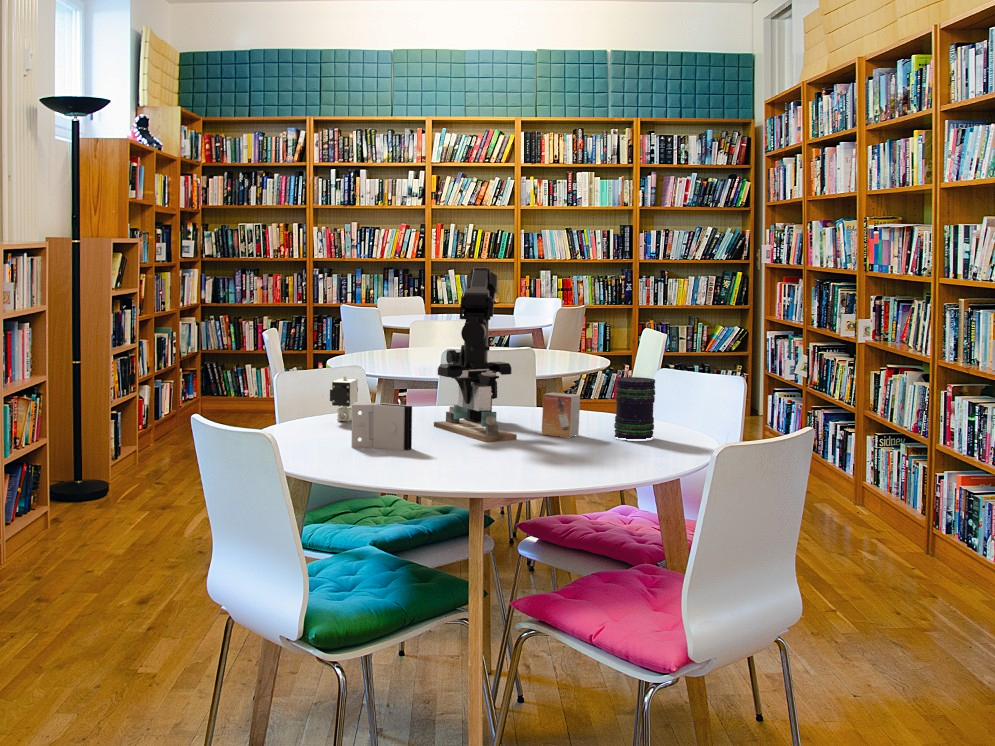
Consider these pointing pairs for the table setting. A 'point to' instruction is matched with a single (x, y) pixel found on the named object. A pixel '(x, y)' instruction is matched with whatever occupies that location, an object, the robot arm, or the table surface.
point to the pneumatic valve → (344, 397)
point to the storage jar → (634, 407)
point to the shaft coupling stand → (474, 426)
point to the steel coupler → (477, 397)
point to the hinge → (382, 426)
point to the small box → (560, 414)
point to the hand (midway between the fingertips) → (474, 403)
